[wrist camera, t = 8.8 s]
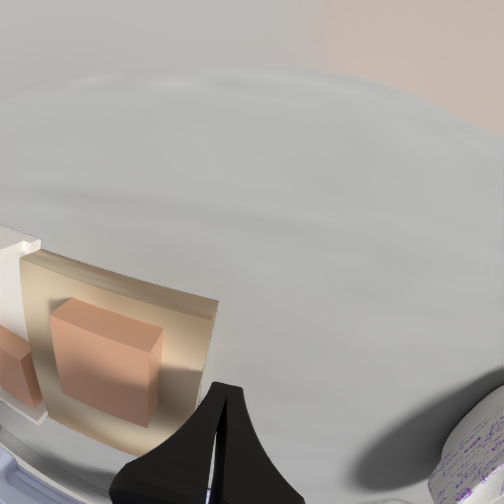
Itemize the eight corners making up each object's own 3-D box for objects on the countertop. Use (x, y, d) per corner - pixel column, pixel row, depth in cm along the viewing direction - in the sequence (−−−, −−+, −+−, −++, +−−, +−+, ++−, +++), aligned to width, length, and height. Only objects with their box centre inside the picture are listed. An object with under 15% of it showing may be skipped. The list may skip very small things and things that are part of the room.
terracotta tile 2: (158, 402, 14) (147, 428, 12) (78, 372, 13) (62, 393, 11) (164, 328, 12) (149, 352, 10) (72, 297, 12) (49, 314, 10)
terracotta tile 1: (47, 394, 16) (35, 409, 14) (6, 369, 16) (-6, 381, 14) (36, 345, 15) (20, 360, 13) (-6, 321, 15) (-22, 332, 13)
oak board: (189, 450, 17) (184, 470, 15) (60, 402, 17) (49, 417, 15) (218, 301, 14) (212, 320, 12) (40, 248, 14) (19, 258, 12)
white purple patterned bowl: (447, 383, 15) (499, 459, 8) (554, 335, 14) (599, 374, 7) (398, 485, 19) (416, 542, 11) (502, 440, 18) (527, 480, 11)
